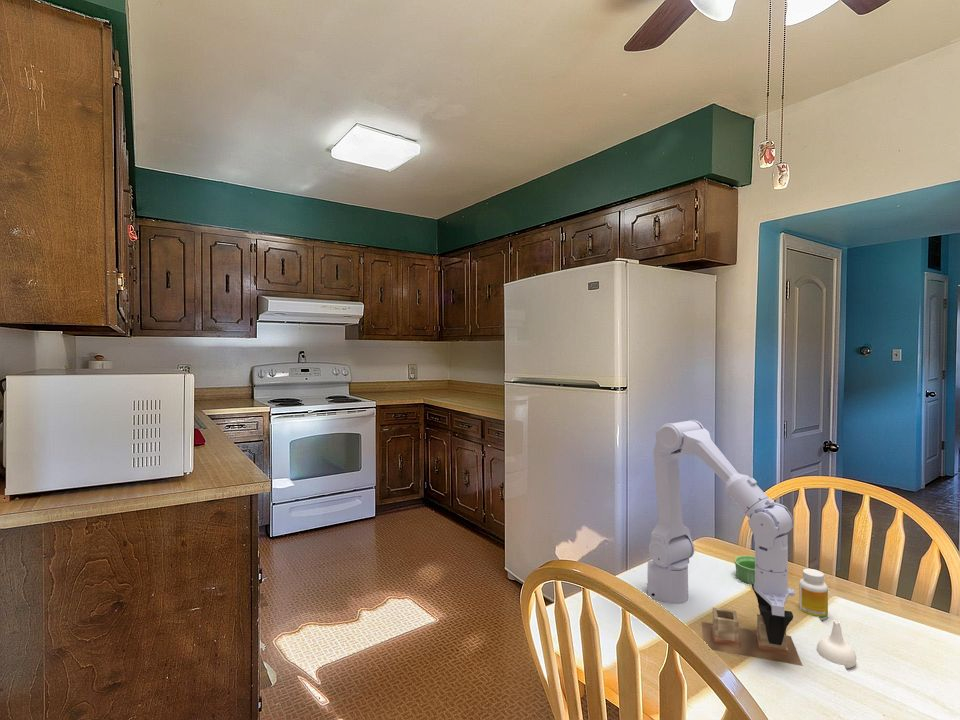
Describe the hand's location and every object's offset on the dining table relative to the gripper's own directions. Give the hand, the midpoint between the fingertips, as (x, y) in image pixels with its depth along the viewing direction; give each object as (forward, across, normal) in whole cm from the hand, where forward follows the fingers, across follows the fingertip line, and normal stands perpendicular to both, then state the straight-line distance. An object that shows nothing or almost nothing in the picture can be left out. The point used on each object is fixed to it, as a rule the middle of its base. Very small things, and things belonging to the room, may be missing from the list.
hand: (771, 632), depth 101 cm
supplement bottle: (+4, +18, -11) cm, 22 cm away
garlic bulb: (+4, +1, -11) cm, 12 cm away
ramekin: (+4, +33, -1) cm, 33 cm away
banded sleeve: (+3, 0, 0) cm, 3 cm away
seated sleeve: (+3, 0, +8) cm, 9 cm away
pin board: (+4, 0, +4) cm, 6 cm away
